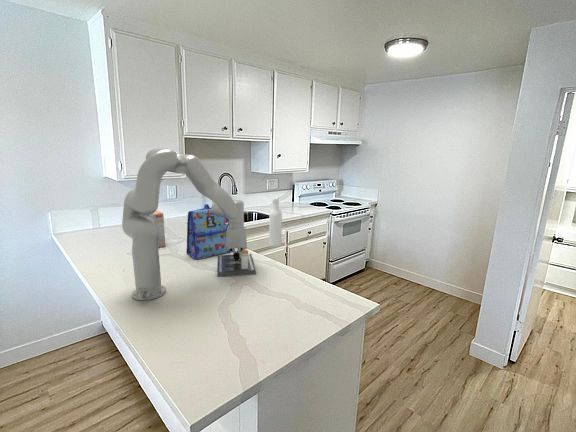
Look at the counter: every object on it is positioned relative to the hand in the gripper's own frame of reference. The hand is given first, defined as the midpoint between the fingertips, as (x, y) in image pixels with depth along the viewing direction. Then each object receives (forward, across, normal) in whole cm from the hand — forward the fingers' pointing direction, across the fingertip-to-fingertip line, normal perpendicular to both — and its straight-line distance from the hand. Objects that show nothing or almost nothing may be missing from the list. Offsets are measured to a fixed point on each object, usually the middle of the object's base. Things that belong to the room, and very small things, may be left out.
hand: (236, 260), depth 154 cm
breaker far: (+1, +4, +8) cm, 9 cm away
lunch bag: (+4, -14, +23) cm, 27 cm away
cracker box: (+4, -46, +46) cm, 65 cm away
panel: (+3, 0, 0) cm, 3 cm away
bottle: (+3, +26, +31) cm, 40 cm away
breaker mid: (+1, +4, 0) cm, 4 cm away
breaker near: (+1, +4, -8) cm, 9 cm away
